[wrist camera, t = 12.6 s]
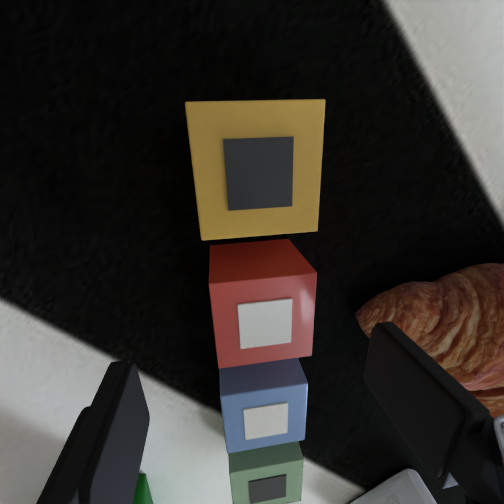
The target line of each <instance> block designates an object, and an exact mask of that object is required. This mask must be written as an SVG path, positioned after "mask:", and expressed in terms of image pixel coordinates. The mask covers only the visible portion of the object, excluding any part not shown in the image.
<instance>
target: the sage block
mask: <svg viewBox="0 0 504 504" xmlns="http://www.w3.org/2000/svg"><path fill="white" fill-rule="evenodd" d="M228 456H229V475H230V483H231V491H232V499H233V504H288V503H293V502H297V501H301V492H302V476H303V456H302V452H301V449H300V445H299V442H298V441H295V442H289V443H283V444H278V445H272V446H267V447H261V448H256V449H250V450H244V451H239V452H233V453H228Z"/></svg>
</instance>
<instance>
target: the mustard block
mask: <svg viewBox="0 0 504 504" xmlns="http://www.w3.org/2000/svg"><path fill="white" fill-rule="evenodd" d="M185 108H186V117H187V125H188V133H189V142H190V150H191V158H192V167H193V175H194V183H195V191H196V200H197V208H198V216H199V225H200V233H201V239H202V240H215V239H227V238H239V237H251V236H264V235H276V234H288V233H300V232H313V231H317V229H318V213H319V196H320V180H321V164H322V147H323V131H324V115H325V100H324V99H305V100H252V101H199V102H185Z"/></svg>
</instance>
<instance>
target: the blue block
mask: <svg viewBox="0 0 504 504" xmlns="http://www.w3.org/2000/svg"><path fill="white" fill-rule="evenodd" d="M219 372H220V399H221V408H222V416H223V424H224V433H225V441H226V449H227V453H233V452H239V451H244V450H250V449H256V448H261V447H267V446H272V445H278V444H283V443H289V442H295V441H300V440H304V439H305V423H306V407H307V390H308V382H307V380H306V377H305V375H304V372H303V370H302V367H301V365H300V362H299V360H298V358H291V359H284V360H276V361H269V362H262V363H255V364H248V365H241V366H234V367H227V368H219Z"/></svg>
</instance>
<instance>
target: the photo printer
mask: <svg viewBox="0 0 504 504" xmlns="http://www.w3.org/2000/svg"><path fill="white" fill-rule="evenodd" d="M350 504H437V503H436V502H435V500H434V498H433V497H432V495H431V493H430V492H429V490H428V489H427V487H426V485H425V484H424V482H423V481H422V479H421V477H420V476H419V474H418V473H417V472H416V471H415V470H413V469H404V470H403V471H401V472H399V473H397V474H396V475H394V476H392V477H391V478H389V479H388V480H386V481H384V482H383V483H381V484H380V485H378V486H377V487H375V488H373V489H372V490H370V491H369V492H367V493H366V494H364V495H362V496H361V497H359V498H357V499H356V500H354V501H353V502H351V503H350Z"/></svg>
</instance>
